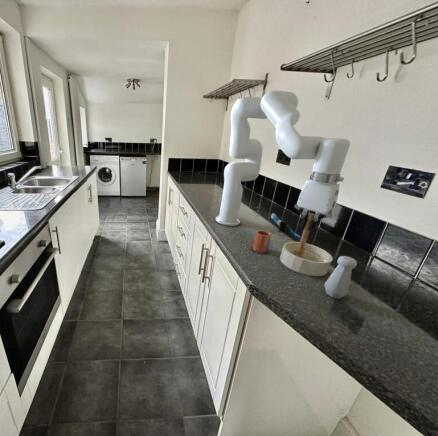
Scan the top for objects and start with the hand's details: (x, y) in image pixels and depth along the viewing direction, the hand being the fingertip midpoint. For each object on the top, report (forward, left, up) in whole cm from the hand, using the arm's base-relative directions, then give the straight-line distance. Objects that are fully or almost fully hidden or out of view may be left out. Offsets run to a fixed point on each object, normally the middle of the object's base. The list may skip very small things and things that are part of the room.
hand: (307, 228), depth 83 cm
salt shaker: (+18, 0, -15) cm, 23 cm away
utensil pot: (-9, -10, -15) cm, 20 cm away
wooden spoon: (0, 0, -13) cm, 13 cm away
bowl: (+2, +1, -15) cm, 15 cm away
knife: (-26, +12, -15) cm, 32 cm away
